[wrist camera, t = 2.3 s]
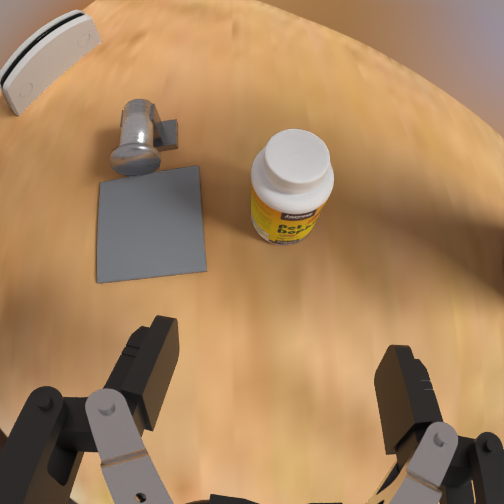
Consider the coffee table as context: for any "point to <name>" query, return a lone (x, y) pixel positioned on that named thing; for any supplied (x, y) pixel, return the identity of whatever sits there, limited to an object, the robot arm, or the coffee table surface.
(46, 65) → the grey rounded slab
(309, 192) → the supplement bottle
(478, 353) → the coffee table surface
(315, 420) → the coffee table surface
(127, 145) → the shaft stub
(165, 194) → the plate
